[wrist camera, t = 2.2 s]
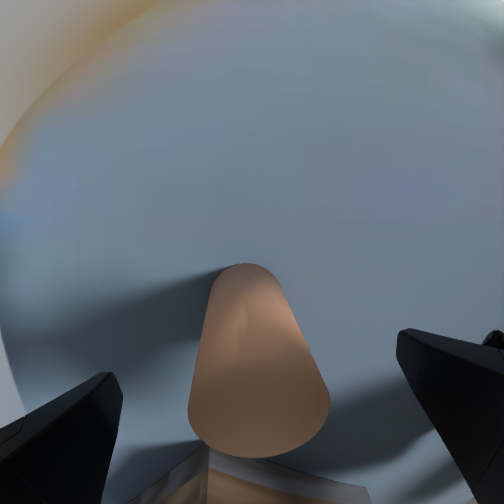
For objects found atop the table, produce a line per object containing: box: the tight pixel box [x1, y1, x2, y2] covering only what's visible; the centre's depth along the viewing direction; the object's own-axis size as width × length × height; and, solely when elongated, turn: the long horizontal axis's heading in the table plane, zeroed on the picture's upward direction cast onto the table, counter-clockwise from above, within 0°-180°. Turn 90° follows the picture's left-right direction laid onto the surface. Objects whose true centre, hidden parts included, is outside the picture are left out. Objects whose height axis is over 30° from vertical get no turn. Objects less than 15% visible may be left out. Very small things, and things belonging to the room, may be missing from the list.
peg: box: [188, 263, 330, 458], centre depth 10 cm, size 3×3×8 cm
